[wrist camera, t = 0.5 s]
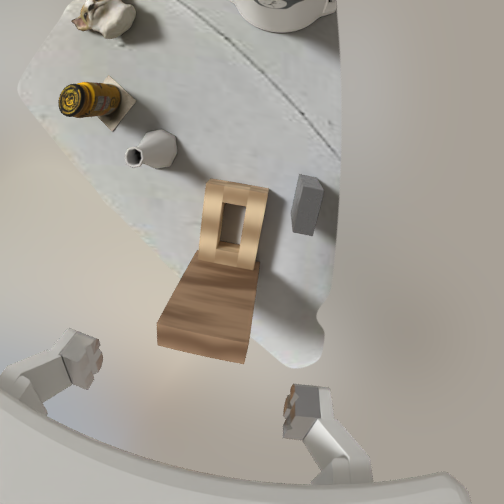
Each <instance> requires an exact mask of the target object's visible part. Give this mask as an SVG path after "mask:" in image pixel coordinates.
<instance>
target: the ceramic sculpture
mask: <svg viewBox="0 0 504 504" xmlns="http://www.w3.org/2000/svg"><path fill="white" fill-rule="evenodd" d="M135 16H136V11H135V8H134V7H133V6H132V5H129V4H128V5H126V4H125V3H123V2H122V1H121V0H87V1H86V2H85V4H84V5H83V7H82V9H81V16H79V17H78V18H76V19H74V20H72V22H73V23H74V24H75V25H76V27H77V28H78V30H81V31H87V30H90V29H93V30H94V31H98V32H101V33H102V34H103V36H104V38H106V39H113V38H116V37H118V36H120V35H121V34H123V33H124V32H125V31H127V30H128V29H129V28H130V27H131V25H132V23H133V20H134V19H135Z"/></svg>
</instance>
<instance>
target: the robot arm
mask: <svg viewBox="0 0 504 504" xmlns="http://www.w3.org/2000/svg"><path fill="white" fill-rule="evenodd" d="M229 1H231V2H232V3H234V4H235V5H236V7H237V9H238V11H239V12H240V14H241V15H242V16H243V17H244V19H246V20H247V21H248V22H249V23H251V24H252V25H254V26H256V27H258V28H260V29H263V30H266V31H270V32H279V33H284V32H293V31H297V30H300V29H303V28H305V27H307V26H309V25H310V24H312V23H313V22H314V21H315V20H316V19H318V18H319V17H321V16H325V15H329V14H332V13H334V12H335V11H336V9H337V1H336V0H330V1H331V2H328V0H229ZM99 346H100V342H99V339H97V338H94V337H91V336H89V335H86V334H83V333H81V332H78V331H76V330H73V329H71V328H69V329H67V330H66V331H65V332H64V333H63V335H62V336H61V337H60V338H59V340H58V341H57V342H56V343H55V344H54V346H53V347H52V349H51V350H50V351H48V350H46V351H43V352H41V353H38V354H36V355H33V356H31V357H28V358H26V359H24V360H21V361H19V362H16V363H14V364H11V365H9V366H7V367H6V369H5V370H4V371H3V372H2V374H1V375H0V504H471V499H470V495H469V492H468V490H467V488H465V486H464V485H463V484H461V483H460V482H459V481H458V480H457V479H456V478H455V477H453V476H452V475H451V474H449V473H448V472H437V473H433V474H428V475H423V476H417V477H411V478H405V479H399V480H392V481H391V480H390V481H382V482H373V476H372V469H371V462H370V457H369V455H368V454H367V453H366V452H365V451H364V450H363V448H362V447H361V446H360V445H359V444H358V443H357V442H356V441H355V439H354V438H353V437H352V436H351V435H350V434H349V432H348V431H347V430H346V429H345V428H344V427H343V425H342V424H341V423H340V422H339V421H338V420H335V419H334V413H333V404H332V396H331V390H330V388H329V387H318V386H310V385H300V384H293V385H292V386H291V389H290V395H288V396H287V398H286V401H285V405H284V411H283V412H284V413H283V416H284V417H285V419H286V420H285V422H284V424H283V438H286V439H294V440H303V443H304V444H305V446H306V447H307V449H308V451H309V452H310V454H311V456H312V457H313V459H314V460H315V462H316V464H317V465H318V467H319V468H320V470H321V473H320V474H318V475H317V476H316V477H315V478H314V479H313V480H312V481H311V485H307V484H303V485H302V484H285V483H284V484H283V483H272V482H261V481H251V480H244V479H237V478H231V477H225V476H218V475H213V474H208V473H203V472H198V471H193V470H189V469H185V468H181V467H177V466H173V465H169V464H165V463H162V462H159V461H155V460H152V459H148V458H145V457H142V456H139V455H136V454H133V453H130V452H127V451H124V450H121V449H119V448H116V447H113V446H111V445H108V444H106V443H103V442H100V441H98V440H96V439H93V438H91V437H89V436H86V435H84V434H82V433H80V432H78V431H75V430H73V429H71V428H69V427H67V426H65V425H63V424H61V423H59V422H57V421H55V420H53V419H51V418H49V417H47V414H48V413H47V410H46V408H45V407H44V405H43V402H45V401H46V400H48V399H50V398H51V397H53V396H55V395H56V394H58V393H59V392H61V391H62V390H64V389H66V388H68V387H69V386H71V385H72V384H74V385H76V386H79V387H81V388H84V389H86V390H88V389H89V387H90V385H91V384H92V382H93V380H94V376H93V374H95V373H98V372H99V370H100V368H101V366H102V362H103V355H102V352H101V351H100V349H99Z"/></svg>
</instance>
